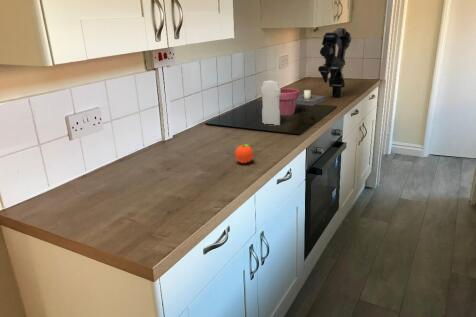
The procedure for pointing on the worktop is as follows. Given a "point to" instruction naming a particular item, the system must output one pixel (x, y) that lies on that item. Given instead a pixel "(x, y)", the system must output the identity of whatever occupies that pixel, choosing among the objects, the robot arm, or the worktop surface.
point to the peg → (307, 94)
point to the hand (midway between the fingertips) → (329, 81)
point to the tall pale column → (270, 102)
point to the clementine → (244, 153)
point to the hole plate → (310, 100)
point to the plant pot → (288, 101)
